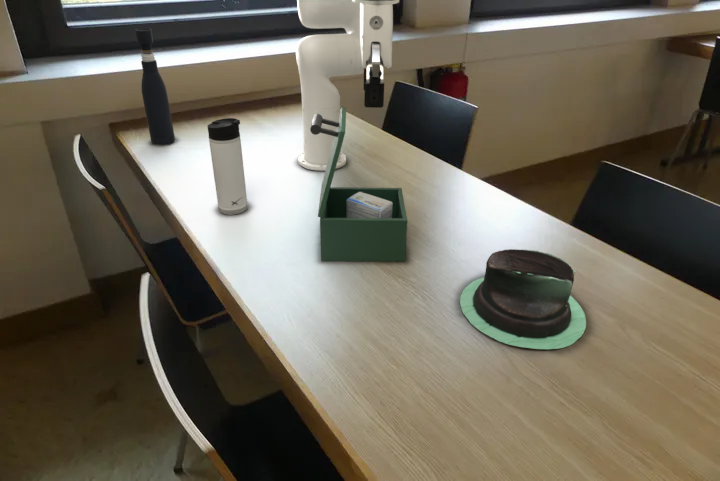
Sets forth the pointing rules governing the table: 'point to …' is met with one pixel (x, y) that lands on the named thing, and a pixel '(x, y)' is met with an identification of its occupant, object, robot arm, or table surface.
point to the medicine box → (368, 206)
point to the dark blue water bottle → (154, 93)
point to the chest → (363, 228)
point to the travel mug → (228, 165)
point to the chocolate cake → (525, 300)
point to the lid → (334, 152)
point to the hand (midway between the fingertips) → (372, 98)
